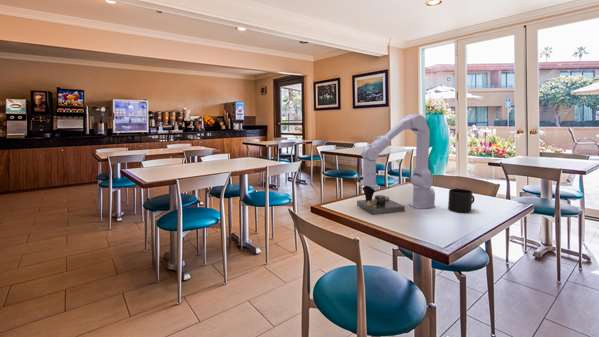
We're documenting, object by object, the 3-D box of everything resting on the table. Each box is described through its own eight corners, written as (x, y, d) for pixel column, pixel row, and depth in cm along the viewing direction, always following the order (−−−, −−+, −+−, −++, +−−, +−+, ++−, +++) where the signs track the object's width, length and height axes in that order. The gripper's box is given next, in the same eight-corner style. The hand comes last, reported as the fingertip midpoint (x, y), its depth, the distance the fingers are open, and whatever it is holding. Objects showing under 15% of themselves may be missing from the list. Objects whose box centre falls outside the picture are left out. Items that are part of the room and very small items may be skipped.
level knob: (379, 200, 154) (379, 194, 153) (387, 202, 150) (387, 196, 149) (364, 204, 148) (364, 197, 148) (372, 206, 144) (372, 199, 144)
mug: (481, 212, 143) (482, 192, 141) (457, 213, 141) (458, 193, 139) (466, 206, 152) (467, 187, 151) (443, 208, 150) (444, 189, 148)
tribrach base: (386, 202, 161) (386, 194, 160) (404, 211, 145) (404, 202, 145) (356, 205, 156) (357, 196, 156) (372, 214, 141) (372, 205, 140)
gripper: (354, 171, 152) (354, 199, 154) (368, 176, 138) (368, 207, 140) (368, 170, 154) (367, 198, 156) (383, 175, 140) (382, 205, 142)
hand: (368, 202), depth 148 cm, fingers closed, pressing on level knob
